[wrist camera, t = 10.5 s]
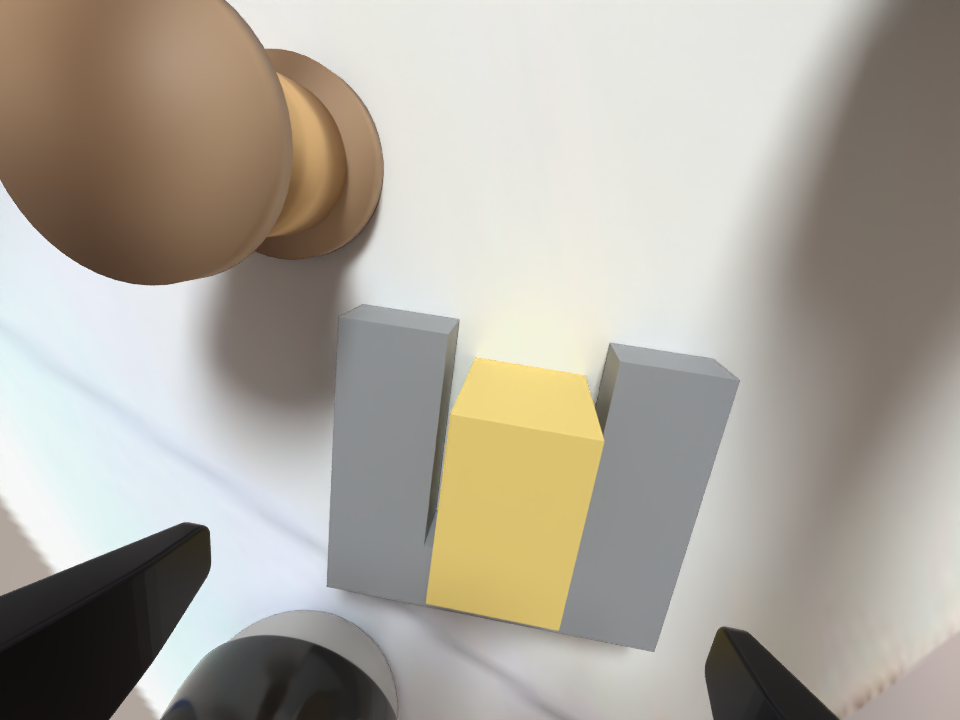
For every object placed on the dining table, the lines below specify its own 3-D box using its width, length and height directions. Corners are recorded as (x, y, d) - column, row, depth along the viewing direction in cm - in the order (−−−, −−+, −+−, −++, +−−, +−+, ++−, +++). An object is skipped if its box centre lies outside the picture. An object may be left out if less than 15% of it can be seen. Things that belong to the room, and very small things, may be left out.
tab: (553, 521, 22) (558, 630, 16) (454, 502, 22) (425, 603, 16) (585, 374, 20) (604, 441, 14) (475, 356, 20) (450, 414, 14)
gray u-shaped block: (714, 359, 19) (739, 380, 16) (641, 605, 22) (654, 652, 20) (362, 304, 20) (338, 316, 17) (348, 548, 23) (326, 586, 21)
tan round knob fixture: (390, 69, 17) (270, -47, 9) (377, 269, 19) (270, 305, 11) (202, 47, 17) (-57, -82, 10) (209, 243, 20) (1, 263, 12)
